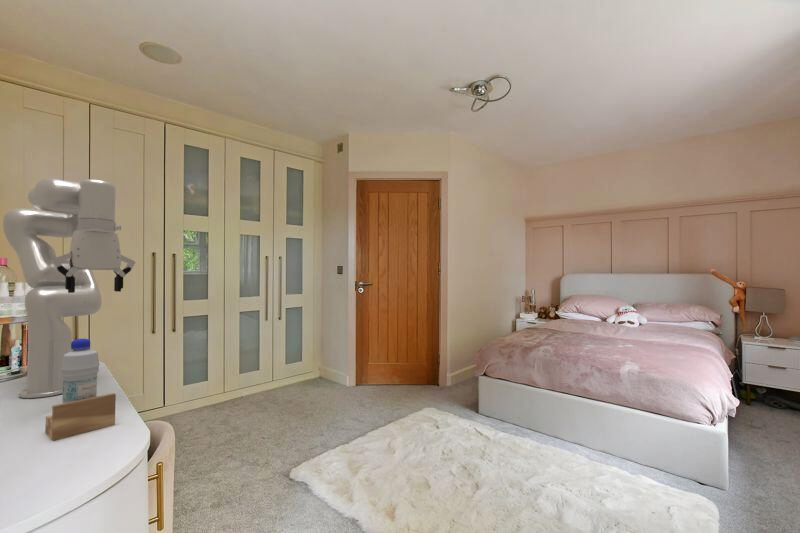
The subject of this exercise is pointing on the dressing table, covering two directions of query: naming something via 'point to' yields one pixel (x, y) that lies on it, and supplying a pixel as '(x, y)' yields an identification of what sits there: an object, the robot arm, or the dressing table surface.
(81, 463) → the dressing table surface
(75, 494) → the dressing table surface
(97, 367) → the bottle
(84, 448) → the dressing table surface
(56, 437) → the wooden u-shaped piece
